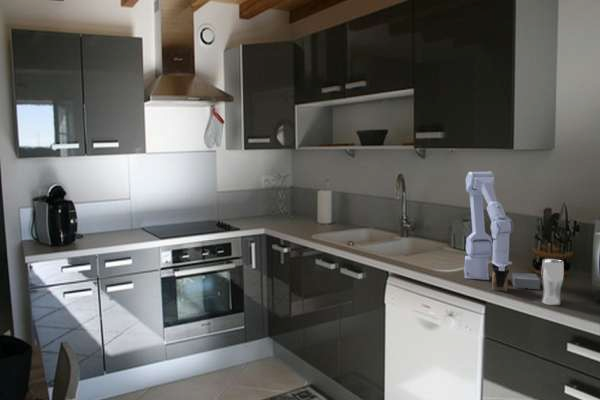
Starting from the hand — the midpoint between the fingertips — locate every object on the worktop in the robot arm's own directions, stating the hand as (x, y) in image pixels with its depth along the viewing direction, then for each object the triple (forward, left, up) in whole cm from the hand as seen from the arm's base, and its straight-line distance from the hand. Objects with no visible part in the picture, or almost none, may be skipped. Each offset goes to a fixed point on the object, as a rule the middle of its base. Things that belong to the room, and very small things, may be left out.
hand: (499, 284), depth 197 cm
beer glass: (+16, -13, -2) cm, 21 cm away
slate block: (+10, +8, -2) cm, 13 cm away
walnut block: (0, 0, -2) cm, 2 cm away
